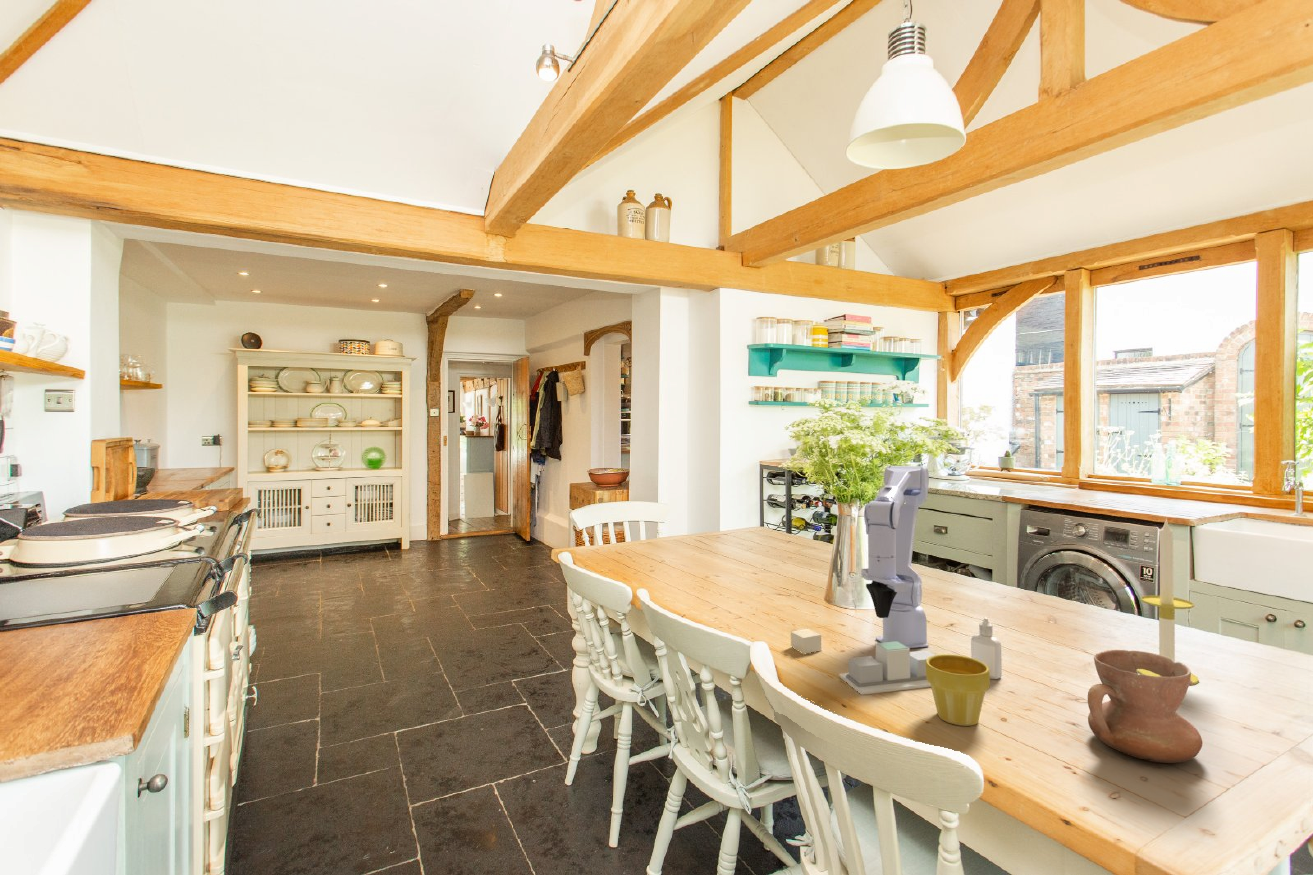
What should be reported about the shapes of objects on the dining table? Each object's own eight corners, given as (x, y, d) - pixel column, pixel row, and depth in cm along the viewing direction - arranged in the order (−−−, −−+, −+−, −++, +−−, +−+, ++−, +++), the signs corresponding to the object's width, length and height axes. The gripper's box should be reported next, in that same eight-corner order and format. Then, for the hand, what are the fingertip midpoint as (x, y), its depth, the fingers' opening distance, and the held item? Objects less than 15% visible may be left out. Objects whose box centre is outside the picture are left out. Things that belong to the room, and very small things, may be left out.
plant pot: (935, 699, 119) (934, 649, 119) (995, 714, 113) (995, 661, 113) (919, 720, 111) (918, 666, 111) (982, 737, 105) (982, 680, 105)
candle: (1155, 662, 134) (1154, 513, 134) (1210, 680, 125) (1210, 519, 124) (1125, 670, 131) (1124, 516, 130) (1179, 689, 121) (1178, 523, 121)
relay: (808, 644, 150) (807, 628, 150) (821, 651, 146) (821, 634, 146) (791, 648, 148) (790, 631, 148) (803, 655, 144) (803, 638, 144)
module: (897, 669, 131) (897, 640, 131) (910, 678, 127) (909, 648, 126) (876, 671, 130) (875, 642, 130) (887, 680, 126) (887, 650, 125)
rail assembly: (924, 667, 135) (924, 646, 135) (951, 684, 126) (951, 661, 126) (839, 676, 131) (838, 654, 131) (861, 694, 122) (860, 671, 122)
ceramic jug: (1149, 722, 109) (1147, 642, 108) (1236, 767, 94) (1233, 674, 94) (1055, 733, 106) (1052, 650, 106) (1129, 780, 92) (1125, 685, 92)
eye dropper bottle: (983, 680, 127) (983, 622, 127) (968, 670, 133) (968, 614, 133) (1004, 679, 127) (1004, 622, 127) (988, 669, 133) (988, 613, 133)
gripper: (849, 550, 143) (849, 609, 143) (883, 563, 129) (883, 628, 129) (876, 549, 145) (877, 607, 145) (913, 561, 130) (914, 625, 131)
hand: (882, 617), depth 137 cm, fingers closed
